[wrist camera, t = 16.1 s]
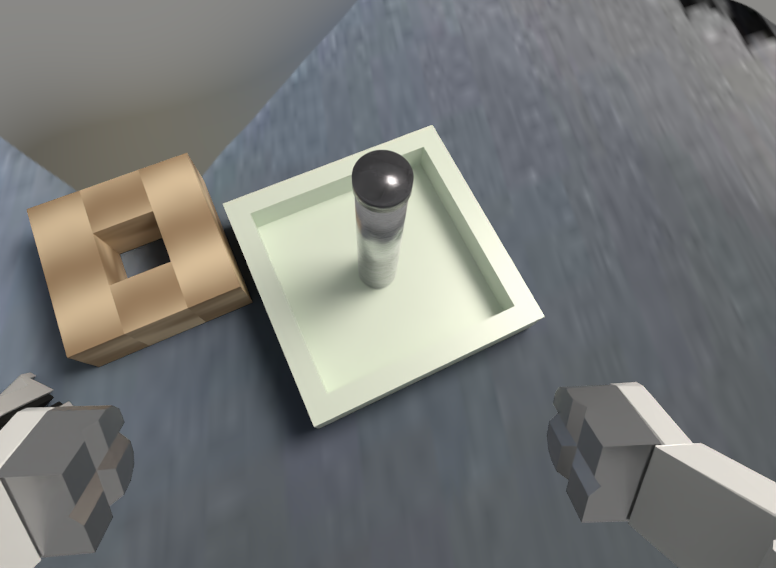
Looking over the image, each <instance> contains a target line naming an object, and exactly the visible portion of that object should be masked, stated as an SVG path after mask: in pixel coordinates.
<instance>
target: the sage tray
mask: <svg viewBox="0 0 776 568" xmlns="http://www.w3.org/2000/svg"><path fill="white" fill-rule="evenodd" d="M375 150H389V151H393V152H396V153H398V154H400V155H401V156H403V157H404V158H405V159H406V160H407V161H408V162H409V164H410V165H411V167H412V170H413V174H414V180H413V187H412V192H411V196H410V198H409V200H408V205H407V211H406V217H405V223H404V229H403V235H402V241H401V247H400V253H399V259H398V265H397V271H396V276H395V278H394V280H393V282H392V283H391V284H390V285H388V286H387V287H385V288H381V289H374V288H370V287H368V286H366V285H365V284H364V283H363V282H362V281H361V279H360V277H359V273H358V255H357V235H356V215H355V196H354V194H353V190H352V170H353V167H354V165H355V163H356V162H357V161H358V159H359V158H360V157H362V156H363V155H365V154H366V153H369V152H371V151H375ZM223 206H224V208H225V211H226V213H227V216H228V218H229V220H230V223H231V225H232V228H233V230H234V233H235V235H236V238H237V240H238V242H239V245H240V247H241V250H242V252H243V255H244V257H245V260H246V262H247V264H248V267H249V269H250V272H251V274H252V277H253V279H254V282H255V284H256V286H257V289H258V291H259V294H260V296H261V299H262V301H263V304H264V306H265V308H266V311H267V313H268V316H269V318H270V321H271V323H272V325H273V328H274V330H275V333H276V335H277V338H278V340H279V343H280V345H281V347H282V350H283V352H284V355H285V357H286V360H287V362H288V365H289V367H290V369H291V372H292V374H293V377H294V379H295V382H296V384H297V387H298V389H299V391H300V394H301V396H302V399H303V401H304V404H305V406H306V409H307V411H308V413H309V416H310V418H311V421H312V423H313V426H314V427H315V428H318V429H319V428H321V427H323V426H326V425H328V424H330V423H332V422H334V421H336V420H338V419H340V418H342V417H344V416H346V415H348V414H351V413H353V412H355V411H357V410H359V409H361V408H363V407H365V406H367V405H369V404H371V403H373V402H375V401H378V400H380V399H382V398H384V397H386V396H388V395H390V394H392V393H394V392H396V391H398V390H400V389H403V388H405V387H407V386H409V385H411V384H413V383H415V382H417V381H419V380H421V379H423V378H425V377H427V376H430V375H432V374H434V373H436V372H438V371H440V370H442V369H444V368H446V367H448V366H450V365H452V364H455V363H457V362H459V361H461V360H463V359H465V358H467V357H469V356H471V355H473V354H475V353H477V352H479V351H482V350H484V349H486V348H488V347H490V346H492V345H494V344H496V343H498V342H500V341H502V340H504V339H507V338H509V337H511V336H513V335H515V334H517V333H519V332H521V331H523V330H525V329H527V328H529V327H531V326H532V325H533V324H535V323H536V322H538V321H539V320H540V319H542V318H543V317H545V316H544V315H543V313H542V311H541V309H540V308H539V306H538V304H537V303H536V301H535V299H534V298H533V296H532V294H531V292H530V291H529V289H528V287H527V286H526V284H525V282H524V280H523V279H522V277H521V275H520V274H519V272H518V270H517V269H516V267H515V265H514V263H513V262H512V260H511V258H510V257H509V255H508V253H507V251H506V250H505V248H504V246H503V245H502V243H501V241H500V240H499V238H498V236H497V234H496V233H495V231H494V229H493V228H492V226H491V224H490V222H489V221H488V219H487V217H486V216H485V214H484V212H483V211H482V209H481V207H480V205H479V204H478V202H477V200H476V199H475V197H474V195H473V193H472V192H471V190H470V188H469V187H468V185H467V183H466V182H465V180H464V178H463V176H462V175H461V173H460V171H459V170H458V168H457V166H456V164H455V163H454V161H453V159H452V158H451V156H450V154H449V153H448V151H447V149H446V147H445V146H444V144H443V142H442V141H441V139H440V137H439V135H438V134H437V132H436V130H435V129H434V127H433V125H431V126H428V127H425V128H423V129H420V130H417V131H415V132H412V133H410V134H407V135H404V136H402V137H399V138H396V139H394V140H391V141H388V142H386V143H383V144H380V145H378V146H375V147H372V148H370V149H367V150H364V151H362V152H359V153H356V154H354V155H351V156H349V157H346V158H343V159H341V160H338V161H335V162H333V163H330V164H327V165H325V166H322V167H319V168H317V169H314V170H311V171H309V172H306V173H303V174H301V175H298V176H295V177H293V178H290V179H287V180H285V181H282V182H280V183H277V184H274V185H272V186H269V187H266V188H264V189H261V190H258V191H256V192H253V193H250V194H248V195H245V196H242V197H240V198H237V199H234V200H232V201H229V202H226V203H224V204H223Z"/></svg>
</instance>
